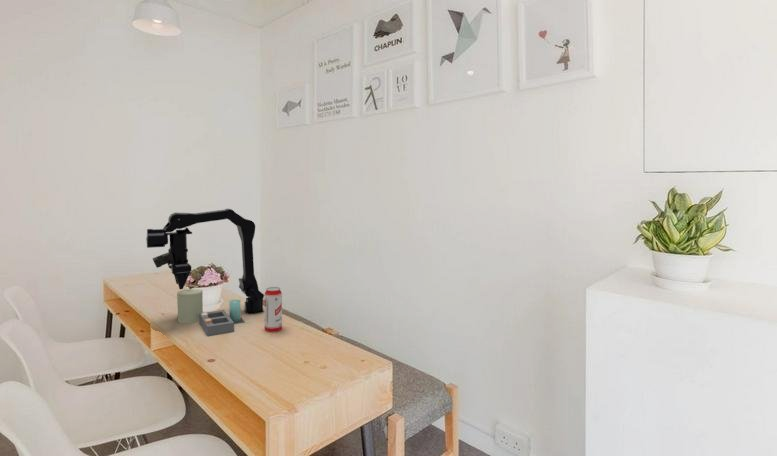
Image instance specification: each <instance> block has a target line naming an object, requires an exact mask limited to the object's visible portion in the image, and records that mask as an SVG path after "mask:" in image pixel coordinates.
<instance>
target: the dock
mask: <svg viewBox="0 0 777 456" xmlns="http://www.w3.org/2000/svg"><path fill="white" fill-rule="evenodd" d="M198 323H200V326H201V327H202V329H203V330H204V332H205V334H206V336H207V337H210V336H217V335H222V334H228V333H234V332H235V324H234V322H233V321H232V319H231V318H230V315H229V313H227V312H226V311H225V309H221V310H220V309H219V310H213V311H207V312H205V311H204V312H203V313H199V321H198Z"/></svg>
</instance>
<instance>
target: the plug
mask: <svg viewBox="0 0 777 456" xmlns="http://www.w3.org/2000/svg"><path fill="white" fill-rule="evenodd" d="M228 303H229V317H230V318H231V319H232V321H233V322H234V323H236V322H240V321H241V318H242V317H241V300H240V299H231V300H229V302H228Z"/></svg>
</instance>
